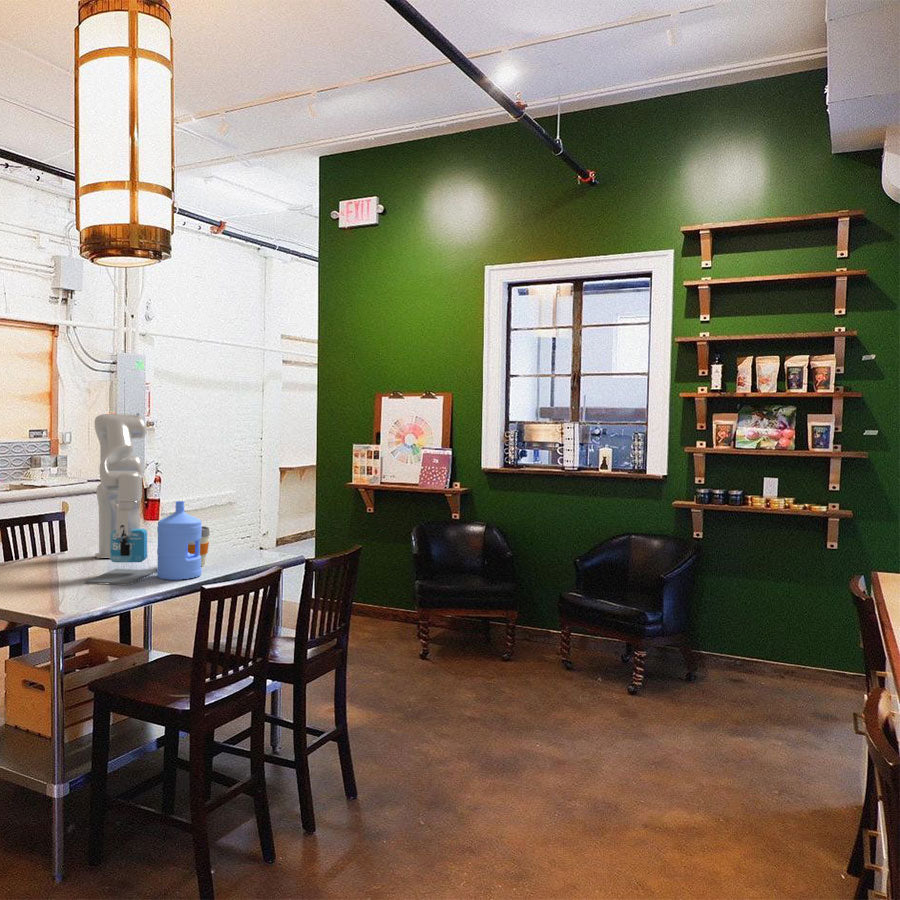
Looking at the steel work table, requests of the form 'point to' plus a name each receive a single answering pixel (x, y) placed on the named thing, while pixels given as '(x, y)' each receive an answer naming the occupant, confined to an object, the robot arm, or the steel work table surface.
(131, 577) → the mat
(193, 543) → the reusable coffee cup
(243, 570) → the steel work table surface
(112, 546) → the data package
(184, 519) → the water jug
